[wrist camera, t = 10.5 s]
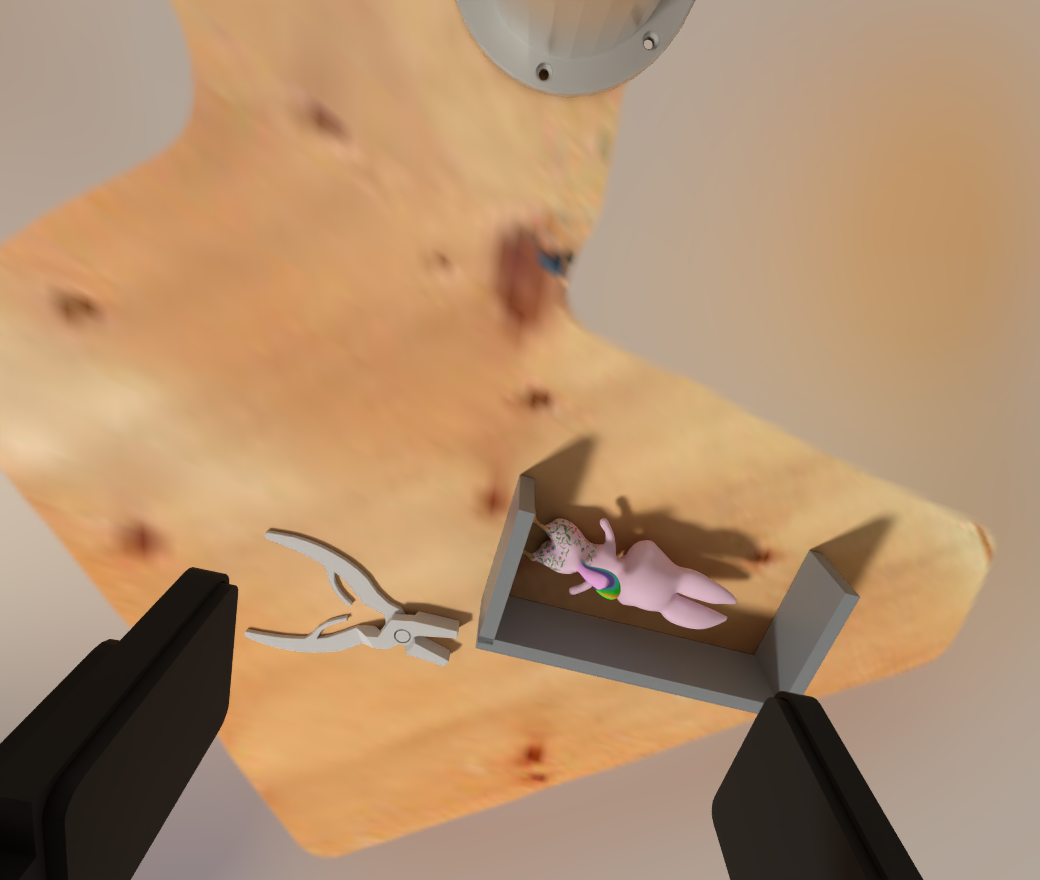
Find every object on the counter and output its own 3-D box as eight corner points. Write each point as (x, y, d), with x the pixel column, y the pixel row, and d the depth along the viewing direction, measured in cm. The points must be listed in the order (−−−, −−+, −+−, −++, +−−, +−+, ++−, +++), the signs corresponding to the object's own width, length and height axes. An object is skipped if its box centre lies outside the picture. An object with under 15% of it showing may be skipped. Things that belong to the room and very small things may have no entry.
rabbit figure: (515, 553, 43) (708, 631, 42) (498, 598, 38) (720, 688, 37) (544, 480, 41) (748, 560, 40) (531, 516, 36) (767, 610, 35)
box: (520, 474, 39) (518, 509, 35) (822, 553, 41) (860, 597, 37) (481, 600, 43) (475, 648, 38) (760, 668, 45) (787, 720, 40)
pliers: (261, 536, 40) (472, 597, 41) (270, 524, 41) (474, 583, 43) (238, 647, 43) (434, 699, 45) (248, 632, 45) (437, 684, 46)
